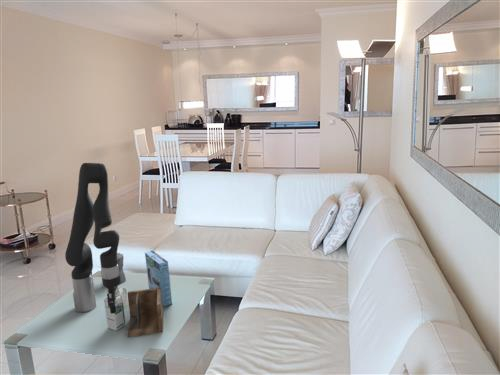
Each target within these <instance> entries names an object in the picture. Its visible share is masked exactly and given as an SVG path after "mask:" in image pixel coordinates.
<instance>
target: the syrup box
mask: <svg viewBox="0 0 500 375" xmlns="http://www.w3.org/2000/svg"><path fill="white" fill-rule="evenodd" d="M123 300H124V298H123V295H120V294H119V293H118V294H116V300H115V307H116V313H112V314H111V312H110V307H108V298H107V297H105V298H104V299H103V303H104V304H103V305H104V310H105V318H106V325H107V328H108V329H110V330H114V331H116V332H117V331H118V330H119V329H121V328H123V327H124V326H126V323H127V322H126V317H125V308H124V301H123ZM111 303H113V302H111Z"/></svg>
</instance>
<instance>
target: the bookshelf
mask: <svg viewBox="0 0 500 375" xmlns="http://www.w3.org/2000/svg"><path fill="white" fill-rule="evenodd" d="M127 301H128V309H129V310H128V311H129V319H128V320H129V321H128V327H127V333H126V334H127V338H131V337H140V336H145V335H152V334H159V333H164V310H163V306H162V297H161V288H154V289H149V288H148V289H147V288H146V289H139V290H138V289H137V290H133V291H132V290H131V291H127Z"/></svg>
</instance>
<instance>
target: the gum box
mask: <svg viewBox="0 0 500 375" xmlns="http://www.w3.org/2000/svg"><path fill="white" fill-rule="evenodd" d="M144 255H145V256H144V257H145V264H146V273H147V284H148V289H154V288H161V297H162V308H163V307H166V306H171V305H172V304H173V299H172V297H173V296H172V290H171V289H172V288H171V279H170V271H169V261H168V260H166V259H165V258H164V257H162V256H161V255H159V254H158V253H157V252H156V251H155V250H151V251H150V250H149V251H146V252H144Z"/></svg>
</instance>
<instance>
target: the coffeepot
mask: <svg viewBox="0 0 500 375" xmlns="http://www.w3.org/2000/svg"><path fill="white" fill-rule="evenodd" d="M117 261H118V267H119V273H120V284H119V285H121V284H123V283H125V282H126V281H127V279H126V276H125V271H124V268H123V267H124V253H121V252H117Z"/></svg>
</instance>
